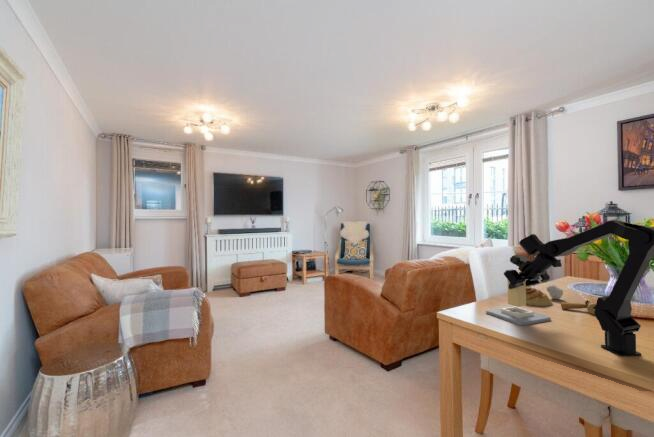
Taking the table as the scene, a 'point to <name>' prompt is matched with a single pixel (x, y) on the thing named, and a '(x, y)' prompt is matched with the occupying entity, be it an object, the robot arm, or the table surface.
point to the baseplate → (518, 315)
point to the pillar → (517, 295)
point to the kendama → (579, 306)
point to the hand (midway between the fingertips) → (513, 287)
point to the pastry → (537, 297)
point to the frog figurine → (554, 292)
